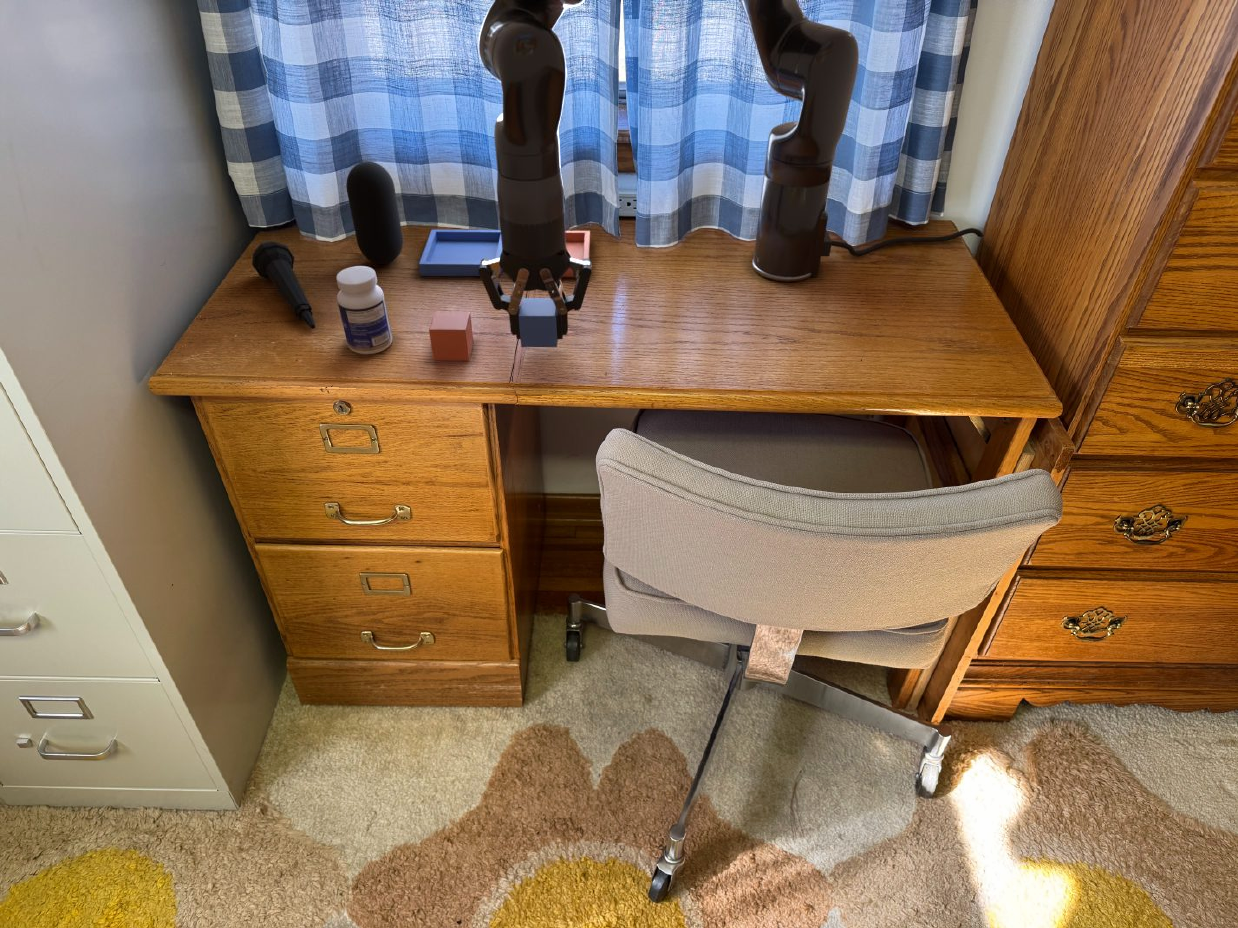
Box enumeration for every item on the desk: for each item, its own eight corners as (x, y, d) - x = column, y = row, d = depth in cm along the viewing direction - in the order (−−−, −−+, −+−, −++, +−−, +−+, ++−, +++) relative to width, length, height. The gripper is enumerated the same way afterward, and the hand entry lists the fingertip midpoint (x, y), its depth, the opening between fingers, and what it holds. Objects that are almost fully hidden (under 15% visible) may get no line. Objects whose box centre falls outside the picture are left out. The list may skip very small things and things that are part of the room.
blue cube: (558, 328, 110) (557, 297, 107) (556, 347, 106) (555, 316, 104) (524, 328, 110) (521, 297, 107) (521, 347, 106) (518, 316, 104)
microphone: (330, 344, 115) (284, 269, 126) (336, 308, 112) (288, 234, 123) (289, 345, 112) (245, 268, 123) (294, 308, 109) (249, 232, 120)
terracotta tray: (590, 242, 134) (590, 230, 132) (588, 277, 125) (588, 265, 123) (516, 241, 133) (515, 230, 132) (509, 276, 125) (508, 264, 123)
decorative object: (407, 269, 126) (390, 170, 116) (361, 274, 125) (341, 173, 115) (405, 250, 131) (389, 152, 121) (361, 254, 129) (341, 156, 120)
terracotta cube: (473, 341, 111) (470, 311, 108) (469, 360, 107) (465, 329, 104) (439, 341, 111) (434, 311, 108) (433, 360, 107) (428, 329, 104)
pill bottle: (351, 333, 112) (336, 264, 106) (395, 331, 112) (382, 262, 106) (344, 357, 108) (328, 286, 101) (390, 355, 108) (376, 285, 102)
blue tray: (507, 241, 133) (506, 230, 132) (499, 276, 125) (498, 264, 123) (433, 240, 133) (431, 229, 132) (420, 275, 124) (418, 264, 123)
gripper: (464, 222, 94) (480, 352, 105) (593, 222, 94) (595, 352, 105) (473, 194, 100) (487, 320, 111) (594, 194, 100) (597, 320, 111)
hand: (540, 335), depth 108 cm, fingers closed on blue cube, 4 cm apart
